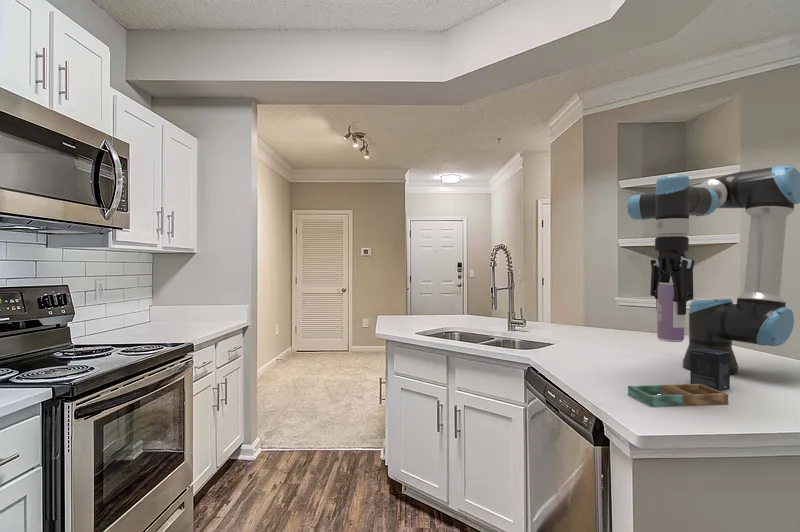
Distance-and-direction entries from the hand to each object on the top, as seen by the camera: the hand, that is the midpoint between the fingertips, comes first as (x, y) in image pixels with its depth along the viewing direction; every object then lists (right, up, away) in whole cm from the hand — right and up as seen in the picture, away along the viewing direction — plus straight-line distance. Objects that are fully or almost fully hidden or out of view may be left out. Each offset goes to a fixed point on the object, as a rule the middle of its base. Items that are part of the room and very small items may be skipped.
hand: (670, 325), depth 118 cm
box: (+18, -19, +12) cm, 29 cm away
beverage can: (0, -4, 0) cm, 4 cm away
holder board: (+2, -19, +1) cm, 20 cm away
